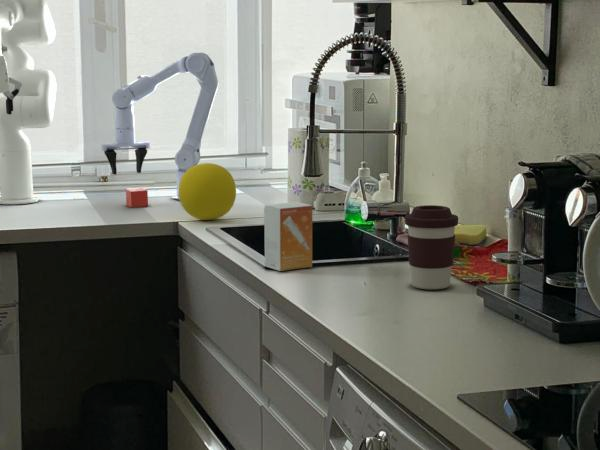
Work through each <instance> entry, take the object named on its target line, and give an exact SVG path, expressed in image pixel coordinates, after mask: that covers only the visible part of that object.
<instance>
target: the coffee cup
mask: <svg viewBox="0 0 600 450" xmlns="http://www.w3.org/2000/svg"><path fill="white" fill-rule="evenodd" d="M404 225H406V226H407V227H408V228H407V230H408V233H407V251H408V253H407V254H408V264H409V265H410V267H409V268H410V282H411V286H413V287H414V288H416V289H421V290H431V291H432V290H442V289H443V290H444V289H446V288H448V287H450V285H451V279H452V266H453V265H454V255H455V244H456V243H455V242H456V235H455V229H456V228H455V227H456V226H458V225H459V216H458V215H456V214H453V213H452V211H451V208H450V207H448V206H444V205H437V204H436V205H434V204H433V205H431V204H429V205H426V204H425V205H418V206H414V207H413V208H412V210H411V213H408V214H406V215H405V216H404Z"/></svg>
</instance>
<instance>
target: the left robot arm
mask: <svg viewBox="0 0 600 450" xmlns="http://www.w3.org/2000/svg"><path fill="white" fill-rule="evenodd" d="M55 27H56V26H55V23H54V20H53V17H52V14H51V11H50V7H49V5H48V2H47V1H46V0H0V94H3V96H2V97H0V205H25V204H26V205H27V204H33V203H38V202H39V201H40V197H39V196H38V195H34V181H33V162H32V144H31V141H30V139H29V137H28V136H27V135H26V134H25V133H24V132H23V130H24V129H45V128H48V127H50V126H51V125H52V123H53V120H54V114H55V106H56V105H55V104H56V97H57V80H56V77H55V74H54V73H53V72H52V71H51V70H49V69H45V68H34V67H35V62H34V59H33V57H32V56H31V55H30V54H29V53H28V52H27V51H26V50H25V49H24V47H23V48H22V46H46V45H50V44H52V43H53V42H54V40H55V37H56V28H55Z"/></svg>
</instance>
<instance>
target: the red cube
mask: <svg viewBox="0 0 600 450" xmlns="http://www.w3.org/2000/svg"><path fill="white" fill-rule="evenodd" d="M148 192H149V191H148V189H145V188H141V187H140V188H128V189H127V188H126V189H125V201H126V202H125V203H126V206H127V207H130V208H142V207H149V198H148V197H149V195H148Z"/></svg>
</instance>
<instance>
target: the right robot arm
mask: <svg viewBox="0 0 600 450" xmlns="http://www.w3.org/2000/svg"><path fill="white" fill-rule="evenodd" d="M182 73H183V74H187V73H189V74H191V75H192V77H194V78H195V79H196V81H197V82H198V84H199V86H200V89H199V93H198V96H197V99H196V102H195V106H194V109H193V113H192V116H191V119H190V121H189V125H188V129H187V132H186V135H185V138H184V140H183V142H182V143H181V146H180V149H179V150H178V151H177V152H176V153H175V156H174V162H175V165H176V166H177V167H176V168H175V169H176V170H175V174H176V175H175V176H176V179H175V180H176V181H175V182H176V196H171V197H170V199H173V200H179V201H180V198H179V184H180V181H181V178H182V176H183V175H184V173H185V172H186V171H187V170H188V169H190V168H191V167H193V166H195V165H198V164H199V163H200V160H201V152H200V151H201V147H202V140H203V137H204V133H205V131H206V127H207V125H208V121H209V118H210V114H211V112H212V108H213V105H214V101H215V98H216V95H217V92H218V90H219V85H220V84H219V80H218V76H217V72H216V68H215V63H214V62H213V60H212V58H211V57H210V56H209V55H208V54H206V53H205V52H192V53H190V54H189V55H186V56H183V57H181V58H179V59H176V60H175V61H173V62H172V63H170V64H168V65H167V66H166V67H164V68H161V70H159V71H157V72H155V73H154V74H153V75H148V74H144V75H142V74H140V75H138V76H137V77H136V78H137V79H135V80H133V81H132V82H130V83H126V84H124V85H123V87H124V88H118V89H116V90H115V92H114V93H113V94H112V103H113V105H114V125H115V126H114V127H115V128H114V129H115V142H112V143H101V144H100V146H101V148H100V149H101V151H102V152H103V153H104V155H105V156H106V159H107V160H108V164H109V166H110V169H111V174H112V175H117V171H118V170H117V152H116V151H123V150H134V153H135V154H134V155H135V160H136V161H135V163H136V164H135V165H136V166H135V167H136V168H135V169H136V173H137V174H141V173H142V168H143V164H144V161H145V158H146V156H147V154H148V149H150V144H151V143H150V141H136V131H135V130H136V129H135V128H136V127H135V112H134V104H136V102H139V101H141V100H143V99H144V98H147V97H148V96H150V95H152V94H153V93H156V89H157V86H158V85H160V84H162V83H164V82H165V81H168V80H169V79H171V78H173V77H175V76H176V75H178V74H182Z"/></svg>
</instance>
